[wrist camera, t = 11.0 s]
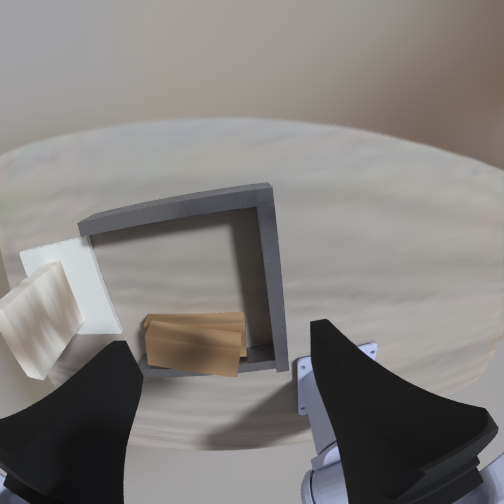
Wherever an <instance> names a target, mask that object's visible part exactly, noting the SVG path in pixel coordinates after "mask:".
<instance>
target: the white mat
mask: <svg viewBox="0 0 504 504" xmlns="http://www.w3.org/2000/svg"><path fill="white" fill-rule="evenodd" d="M19 254H20V257H21V260H22V263H23V265H24V268H25V271H26V274H27V276H29V275H31V274H32V273H33V272H35V271H36V270H37V269H38V268H40V267H41V266H42V265H44V264H45V263H48V262H53V261H59V260H61V263H62V266H63V269H64V272H65V274H66V277H67V280H68V282H69V285H70V288H71V290H72V293H73V295H74V298H75V300H76V302H77V305H78V307H79V309H80V312H81V314H82V316H83V318H84V320H85V321H84V322H83V323H82V325H81V326H80V328H79V329H78V330H77V332H76V333H75V334H122V332H123V328H122V326H121V324H120V322H119V319H118V317H117V314H116V312H115V310H114V307H113V305H112V302H111V299H110V297H109V294H108V292H107V289H106V286H105V283H104V281H103V278H102V275H101V272H100V269H99V266H98V263H97V260H96V257H95V253H94V250H93V247H92V243H91V240H90V236H84V237H77V238H73V239H68V240H64V241H60V242H56V243H51V244H47V245H43V246H39V247H35V248H31V249H27V250H23V251H21V252H20V253H19Z"/></svg>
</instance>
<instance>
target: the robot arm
mask: <svg viewBox="0 0 504 504" xmlns="http://www.w3.org/2000/svg"><path fill="white" fill-rule="evenodd" d="M310 337H311V356H310V357H305V358H300V359H299V360H298V361H297V383H298V414H299V415H307V414H308V417H309V422H310V426H311V430H312V435H313V439H314V443H315V447H316V451H317V455H318V456H317V457H315V458H313V459H312V460H311V462H312V467H313V469H311V470H309V471H308V472H307V473H306V474H305V476H304V479H303V482H302V485H301V499H302V503H303V504H504V452H503V453H502V454H501V455H500V456H499V457H497V458H496V459H495V460H494V461H492V462H491V463H490V464H488V465H487V466H486V467H485V468H483V469H482V470H481V471H478V469H477V467H476V466H478V465H479V464H480V461H479V459H478V457H477V455H478V454H479V453H480V452H481V451H482V450H483V449H484V448H485V447H486V446H487V445H488V444H489V443H490V442H491V441H492V440H493V438H494V437H495V436H496V434H497V433H498V426H497V425H496V423H495V422H494V420H493V419H492V417H491V416H490V414H489V413H488V411H487V410H486V409H485V408H482V407H477V406H472V405H468V404H464V403H459V402H456V401H453V400H450V399H447V398H444V397H441V396H438V395H436V394H433V393H431V392H428V391H426V390H424V389H422V388H420V387H417V386H415V385H413V384H411V383H409V382H407V381H405V380H404V379H402V378H400V377H399V376H397V375H395V374H393V373H392V372H390V371H389V370H387V369H386V368H384V367H383V366H381V365H380V364H379V363H377V362H376V361H375V356H376V352H377V345H376V343H370V344H366V345H362V346H358V347H357V346H356V345H355V344H353V343H352V342H351V341H350V340H349V339H348V338H347V337H346V336H345V335H343V334H342V333H341V332H340V331H339V330H338V329H337V328H336V327H335V326H334V325H333V324H332V323H331V322H330V321H329V320H327V319H322V320H317V321H311V322H310ZM301 366H303V367H301ZM142 383H143V374H142V372H141V370H140V368H139V366H138V364H137V362H136V360H135V359H134V357H133V355H132V353H131V351H130V348H129V346H128V344H127V342H126V341H113V342H111V343H110V344H109V345H107V346H106V347H105V348H104V349H103V350H101V351H100V352H99V353H98V354H97V355H96V356H95V357H94V358H93V359H91V360H90V361H89V362H88V363H87V364H86V365H85V366H84V367H82V368H81V369H80V370H79V371H78V372H77V373H76V374H74V375H73V376H72V377H71V378H70V379H68V380H67V381H66V382H65V383H64V384H63V385H61V386H60V387H59V388H57V389H56V390H55V391H53V392H52V393H51V394H49V395H48V396H46V397H45V398H43V399H42V400H40V401H38V402H36V403H35V404H33V405H32V406H30V407H28V408H26V409H24V410H22V411H20V412H18V413H16V414H13V415H11V416H8V417H6V418H3V419H0V468H1V469H2V470H4V471H5V472H6V473H7V476H6V477H5V476H3V475H2V474H1V473H0V504H124V495H123V479H124V463H125V455H126V447H127V443H128V438H129V435H130V431H131V427H132V424H133V421H134V417H135V414H136V410H137V407H138V403H139V400H140V396H141V390H142Z"/></svg>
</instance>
